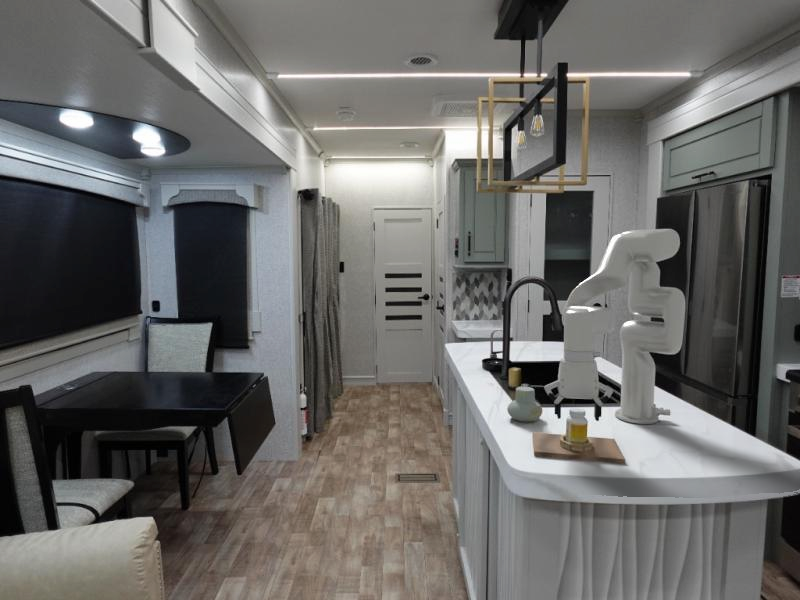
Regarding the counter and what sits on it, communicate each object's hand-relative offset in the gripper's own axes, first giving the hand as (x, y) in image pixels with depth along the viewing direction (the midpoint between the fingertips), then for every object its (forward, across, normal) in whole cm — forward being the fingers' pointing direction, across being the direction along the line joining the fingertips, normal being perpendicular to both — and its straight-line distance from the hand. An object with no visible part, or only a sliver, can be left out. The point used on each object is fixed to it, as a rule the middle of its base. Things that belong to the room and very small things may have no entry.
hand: (577, 418), depth 130 cm
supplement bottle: (+7, 0, 0) cm, 8 cm away
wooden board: (+8, 0, +1) cm, 9 cm away
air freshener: (+9, +14, -21) cm, 27 cm away
